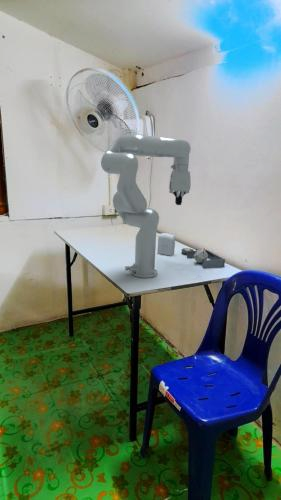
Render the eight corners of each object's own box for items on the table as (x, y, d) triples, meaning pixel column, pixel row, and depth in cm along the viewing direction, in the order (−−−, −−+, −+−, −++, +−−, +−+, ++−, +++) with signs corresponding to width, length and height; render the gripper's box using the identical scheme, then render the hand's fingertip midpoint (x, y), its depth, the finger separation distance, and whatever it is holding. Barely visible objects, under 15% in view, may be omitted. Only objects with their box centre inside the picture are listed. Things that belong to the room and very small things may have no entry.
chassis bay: (203, 268, 167) (203, 261, 166) (186, 257, 184) (187, 251, 183) (225, 266, 171) (226, 259, 170) (207, 256, 188) (208, 249, 187)
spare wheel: (184, 255, 188) (184, 251, 187) (179, 252, 194) (179, 248, 194) (195, 255, 190) (195, 250, 189) (190, 251, 196) (190, 247, 196)
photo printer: (175, 254, 189) (176, 234, 186) (172, 256, 186) (173, 235, 182) (159, 251, 194) (160, 231, 191) (156, 253, 191) (157, 233, 187)
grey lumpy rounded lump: (196, 269, 176) (186, 254, 175) (205, 261, 180) (195, 246, 180) (206, 266, 168) (196, 250, 168) (216, 258, 173) (205, 242, 172)
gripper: (169, 168, 157) (167, 206, 162) (197, 168, 161) (194, 205, 166) (164, 167, 164) (162, 203, 169) (190, 168, 168) (188, 203, 173)
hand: (178, 204), depth 167 cm, fingers closed
